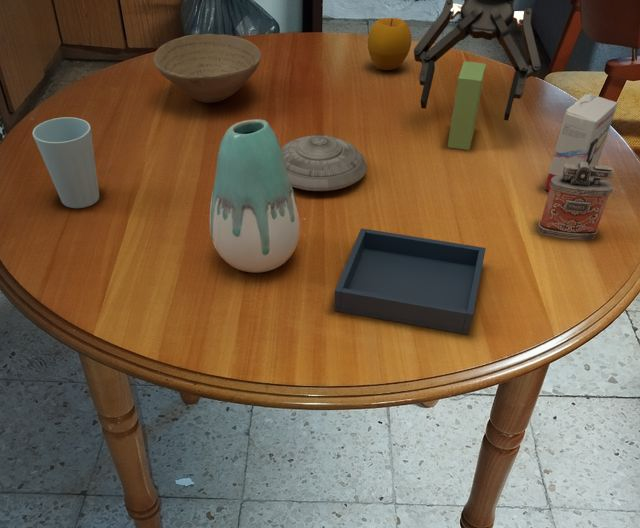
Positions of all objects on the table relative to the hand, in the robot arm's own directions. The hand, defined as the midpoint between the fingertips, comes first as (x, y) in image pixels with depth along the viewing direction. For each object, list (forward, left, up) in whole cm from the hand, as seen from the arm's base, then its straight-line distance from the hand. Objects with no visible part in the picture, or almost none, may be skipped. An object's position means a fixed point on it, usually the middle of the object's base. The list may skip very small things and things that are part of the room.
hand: (464, 111), depth 109 cm
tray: (+1, +42, -5) cm, 42 cm away
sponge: (0, -1, -5) cm, 5 cm away
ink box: (-18, +9, -5) cm, 21 cm away
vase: (+22, +41, -5) cm, 46 cm away
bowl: (+46, -4, -5) cm, 46 cm away
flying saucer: (+20, +17, -5) cm, 26 cm away
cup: (+52, +34, -5) cm, 62 cm away
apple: (+18, -27, -5) cm, 33 cm away
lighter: (-18, +23, -5) cm, 30 cm away
